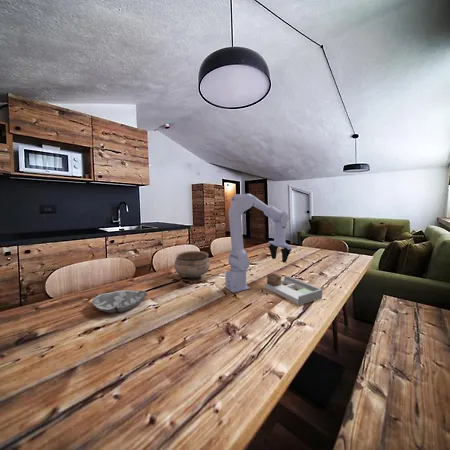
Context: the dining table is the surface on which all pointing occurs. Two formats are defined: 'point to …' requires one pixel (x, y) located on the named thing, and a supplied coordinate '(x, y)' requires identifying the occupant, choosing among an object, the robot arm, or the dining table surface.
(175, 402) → the dining table surface
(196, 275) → the cooking pot
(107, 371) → the dining table surface
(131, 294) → the brain slice
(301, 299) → the board
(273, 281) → the walnut block
